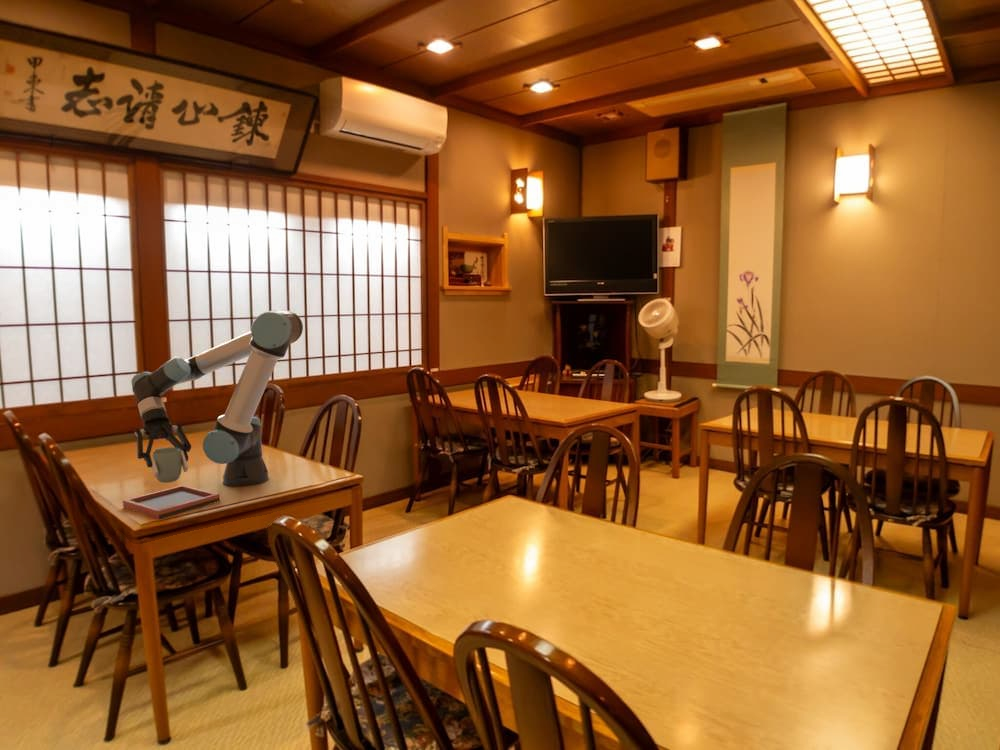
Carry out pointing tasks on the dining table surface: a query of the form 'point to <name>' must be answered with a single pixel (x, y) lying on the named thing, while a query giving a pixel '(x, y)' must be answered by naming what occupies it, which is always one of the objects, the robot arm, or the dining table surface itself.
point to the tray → (171, 501)
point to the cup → (168, 464)
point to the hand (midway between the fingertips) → (171, 472)
